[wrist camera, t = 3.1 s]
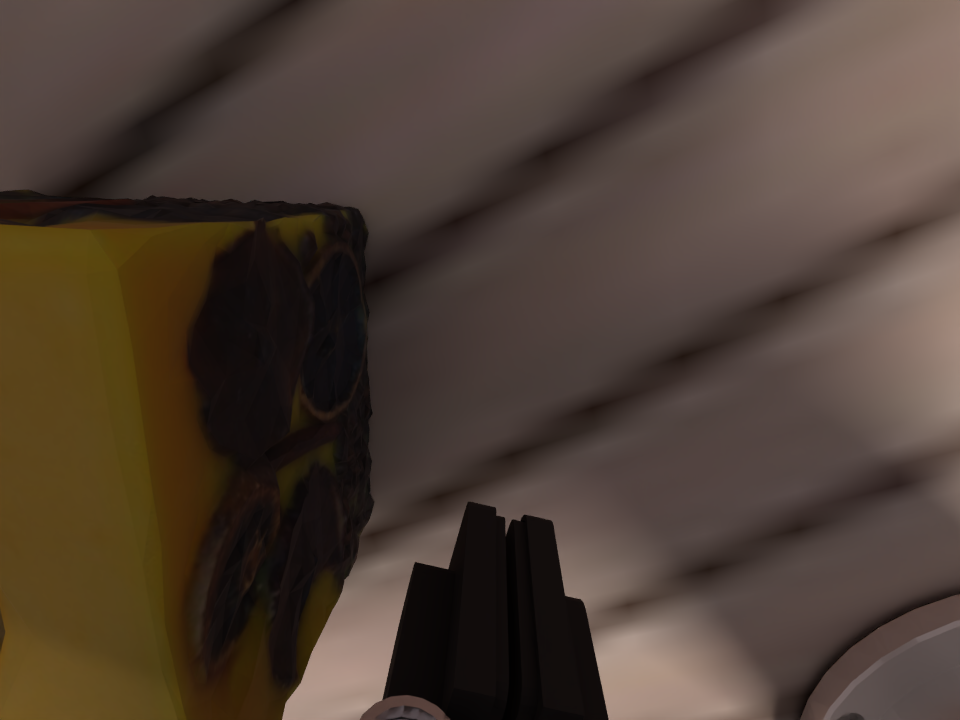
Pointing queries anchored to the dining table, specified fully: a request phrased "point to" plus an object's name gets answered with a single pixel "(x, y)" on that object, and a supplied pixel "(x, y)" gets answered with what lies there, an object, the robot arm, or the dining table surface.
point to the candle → (176, 451)
